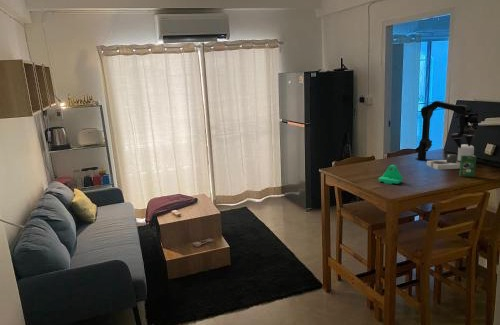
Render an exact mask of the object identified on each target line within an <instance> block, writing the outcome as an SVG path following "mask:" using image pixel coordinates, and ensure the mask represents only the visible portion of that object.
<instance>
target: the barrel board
mask: <svg viewBox="0 0 500 325" xmlns="http://www.w3.org/2000/svg"><path fill="white" fill-rule="evenodd" d="M446 161H447V159H440V160H439V159H438V160H437V159H436V160H426V166H427V167H430V168H432V169H435V170H439V171H440V170H457V169H459V170H460V162H461V161H458V160H457V161H456V163H448V162H446Z"/></svg>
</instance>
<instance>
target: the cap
mask: <svg viewBox="0 0 500 325" xmlns="http://www.w3.org/2000/svg"><path fill="white" fill-rule="evenodd" d="M446 160H447V161H446V162H448V163H456V161H457V162H458V154H452V153H447V154H446Z"/></svg>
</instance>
